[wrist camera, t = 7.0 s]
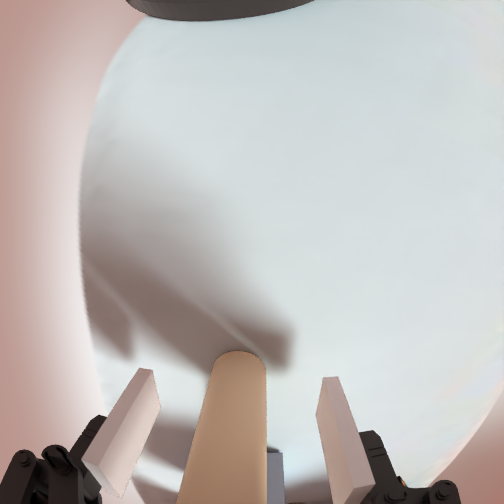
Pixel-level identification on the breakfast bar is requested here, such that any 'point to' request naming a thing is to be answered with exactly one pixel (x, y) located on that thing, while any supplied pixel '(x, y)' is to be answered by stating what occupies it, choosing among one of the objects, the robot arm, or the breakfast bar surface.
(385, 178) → the breakfast bar surface
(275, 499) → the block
